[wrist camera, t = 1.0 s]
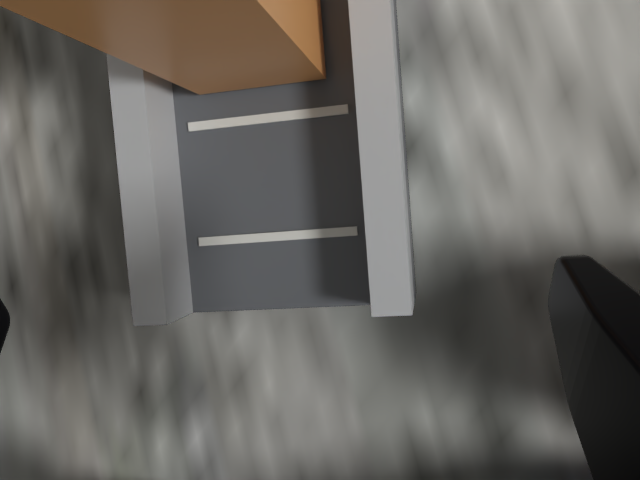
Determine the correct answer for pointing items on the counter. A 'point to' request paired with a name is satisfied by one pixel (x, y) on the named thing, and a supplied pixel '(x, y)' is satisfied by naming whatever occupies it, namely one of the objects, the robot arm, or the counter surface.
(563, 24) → the counter surface
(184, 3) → the fader knob
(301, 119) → the fader console
